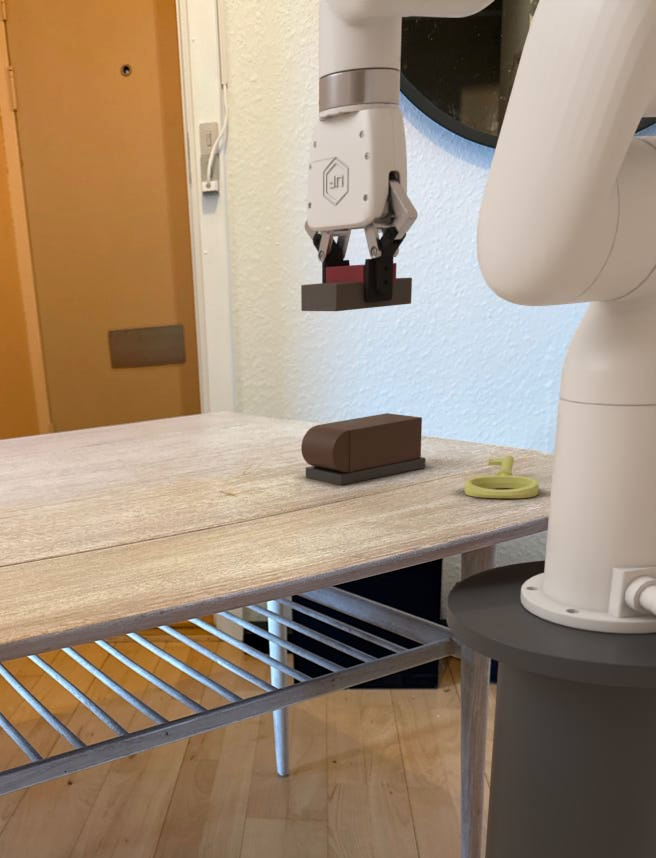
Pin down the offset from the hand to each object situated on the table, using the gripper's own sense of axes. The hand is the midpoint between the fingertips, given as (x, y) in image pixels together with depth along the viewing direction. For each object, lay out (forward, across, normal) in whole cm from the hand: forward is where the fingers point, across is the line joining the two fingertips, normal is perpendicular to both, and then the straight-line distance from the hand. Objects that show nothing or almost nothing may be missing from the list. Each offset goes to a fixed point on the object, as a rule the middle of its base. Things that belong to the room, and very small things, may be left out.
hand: (356, 299), depth 94 cm
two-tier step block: (+1, 0, 0) cm, 1 cm away
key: (+20, +10, +12) cm, 25 cm away
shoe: (+20, -6, +8) cm, 22 cm away
